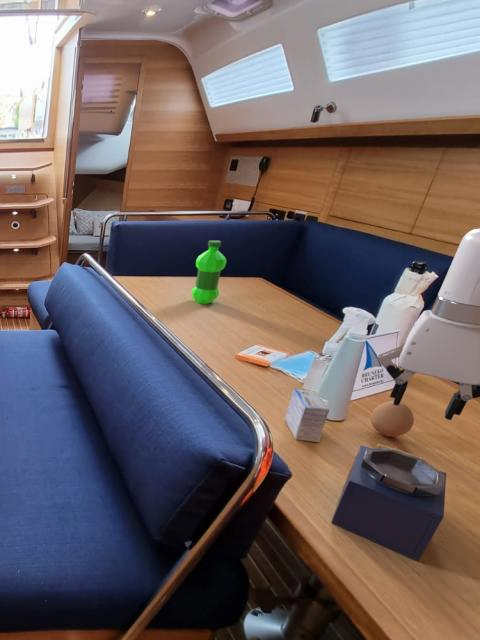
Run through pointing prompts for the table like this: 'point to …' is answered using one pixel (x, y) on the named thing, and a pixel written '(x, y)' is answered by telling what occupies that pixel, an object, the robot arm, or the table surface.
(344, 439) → the table surface
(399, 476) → the dark gray octagonal tray
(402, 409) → the egg
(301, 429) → the medicine box
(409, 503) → the navy box with tray
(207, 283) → the plastic bottle
